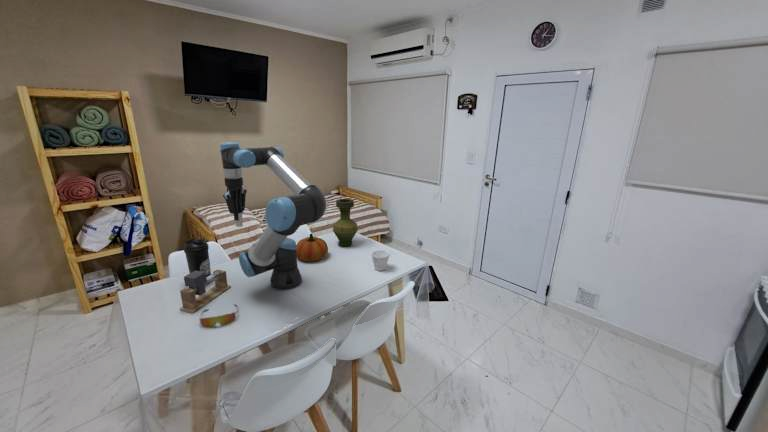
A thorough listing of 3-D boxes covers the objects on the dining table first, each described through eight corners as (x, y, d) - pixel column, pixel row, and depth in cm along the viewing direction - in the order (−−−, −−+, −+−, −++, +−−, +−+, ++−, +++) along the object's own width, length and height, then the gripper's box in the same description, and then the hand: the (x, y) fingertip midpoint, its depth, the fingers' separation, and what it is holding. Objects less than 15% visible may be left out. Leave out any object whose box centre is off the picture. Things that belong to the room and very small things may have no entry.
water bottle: (203, 289, 148) (196, 244, 141) (185, 286, 150) (176, 242, 143) (218, 279, 158) (212, 237, 151) (200, 276, 160) (193, 234, 153)
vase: (329, 248, 198) (328, 203, 189) (337, 239, 214) (336, 197, 205) (354, 250, 196) (354, 205, 187) (360, 241, 211) (360, 198, 202)
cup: (368, 270, 171) (368, 255, 168) (375, 263, 180) (375, 248, 177) (385, 274, 167) (385, 258, 165) (391, 266, 176) (392, 251, 173)
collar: (198, 288, 139) (195, 270, 136) (208, 290, 138) (205, 272, 135) (187, 295, 133) (183, 276, 131) (197, 297, 132) (194, 278, 129)
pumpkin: (313, 248, 199) (312, 225, 194) (334, 256, 188) (334, 232, 183) (288, 258, 184) (286, 234, 179) (310, 267, 173) (309, 242, 168)
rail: (218, 285, 152) (216, 268, 149) (231, 287, 150) (228, 270, 148) (180, 310, 132) (176, 291, 129) (193, 313, 130) (190, 294, 127)
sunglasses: (197, 332, 120) (195, 320, 119) (204, 314, 133) (202, 303, 132) (237, 324, 125) (236, 312, 124) (240, 308, 138) (239, 298, 138)
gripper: (236, 174, 148) (241, 221, 155) (215, 179, 136) (222, 229, 143) (249, 175, 146) (254, 222, 153) (230, 180, 134) (236, 231, 141)
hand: (239, 226), depth 148 cm, fingers closed
